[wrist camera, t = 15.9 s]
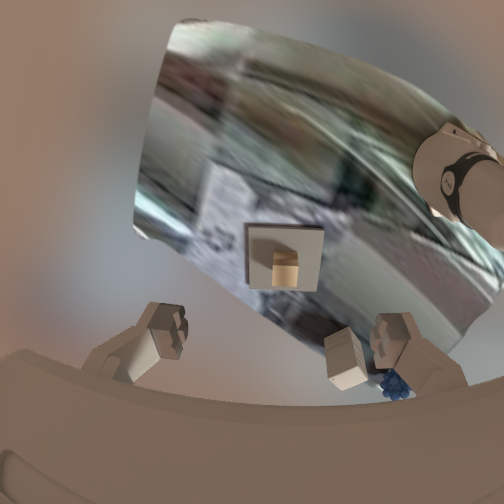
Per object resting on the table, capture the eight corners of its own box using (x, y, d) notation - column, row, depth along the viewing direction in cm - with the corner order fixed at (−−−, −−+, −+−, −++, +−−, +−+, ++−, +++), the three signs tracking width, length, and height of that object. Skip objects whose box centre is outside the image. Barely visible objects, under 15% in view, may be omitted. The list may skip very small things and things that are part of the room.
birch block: (297, 252, 53) (298, 266, 48) (295, 271, 55) (296, 286, 51) (273, 251, 53) (272, 265, 49) (273, 270, 55) (272, 285, 51)
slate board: (323, 228, 51) (324, 230, 50) (316, 288, 58) (316, 291, 57) (248, 225, 52) (248, 227, 51) (250, 285, 59) (249, 288, 58)
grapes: (403, 352, 66) (413, 385, 56) (412, 360, 68) (423, 392, 57) (371, 372, 71) (377, 405, 61) (382, 379, 73) (389, 410, 63)
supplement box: (335, 352, 68) (340, 391, 57) (322, 337, 65) (326, 378, 54) (360, 341, 65) (369, 380, 54) (349, 325, 62) (357, 366, 51)
